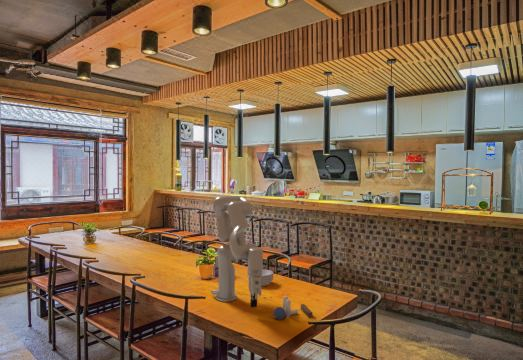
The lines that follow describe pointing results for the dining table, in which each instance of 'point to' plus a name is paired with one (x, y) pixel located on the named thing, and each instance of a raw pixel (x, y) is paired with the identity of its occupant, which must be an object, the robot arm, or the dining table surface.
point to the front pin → (293, 312)
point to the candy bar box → (216, 267)
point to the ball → (279, 313)
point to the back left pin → (284, 302)
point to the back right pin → (288, 308)
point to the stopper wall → (306, 310)
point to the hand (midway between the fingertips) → (253, 306)
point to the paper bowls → (266, 277)
